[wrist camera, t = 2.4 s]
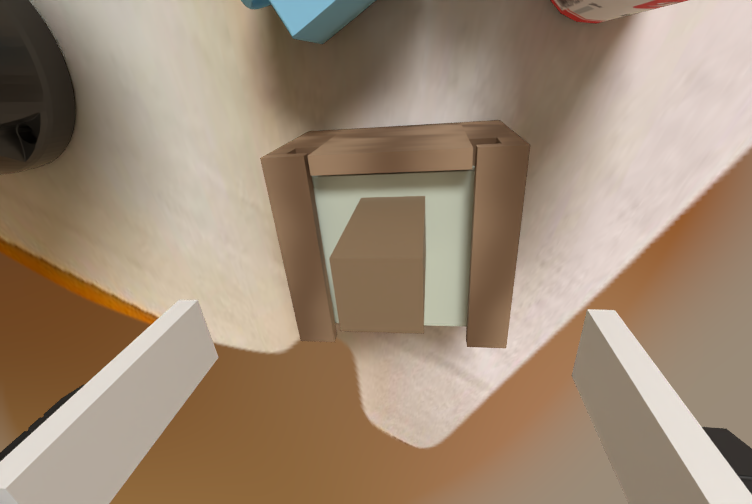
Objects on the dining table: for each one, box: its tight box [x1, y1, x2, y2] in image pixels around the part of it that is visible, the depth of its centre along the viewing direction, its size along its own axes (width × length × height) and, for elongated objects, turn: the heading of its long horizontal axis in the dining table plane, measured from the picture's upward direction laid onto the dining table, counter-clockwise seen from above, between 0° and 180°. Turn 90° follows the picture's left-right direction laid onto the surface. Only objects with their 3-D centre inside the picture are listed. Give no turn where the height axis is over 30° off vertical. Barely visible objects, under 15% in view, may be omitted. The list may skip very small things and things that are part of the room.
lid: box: [312, 166, 475, 334], centre depth 18 cm, size 10×10×8 cm
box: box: [260, 120, 530, 348], centre depth 23 cm, size 13×12×8 cm
